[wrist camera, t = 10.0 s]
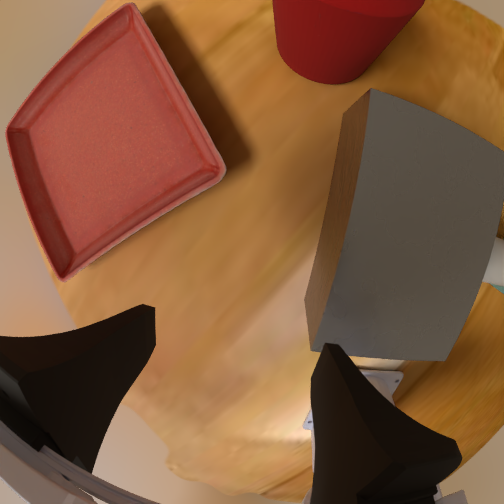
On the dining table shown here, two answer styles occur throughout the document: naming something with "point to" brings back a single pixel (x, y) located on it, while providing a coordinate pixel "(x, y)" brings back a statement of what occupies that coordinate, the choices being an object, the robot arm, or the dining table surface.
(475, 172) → the housing
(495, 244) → the teal bent bracket
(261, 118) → the dining table surface
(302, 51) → the beverage can
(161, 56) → the plant saucer
